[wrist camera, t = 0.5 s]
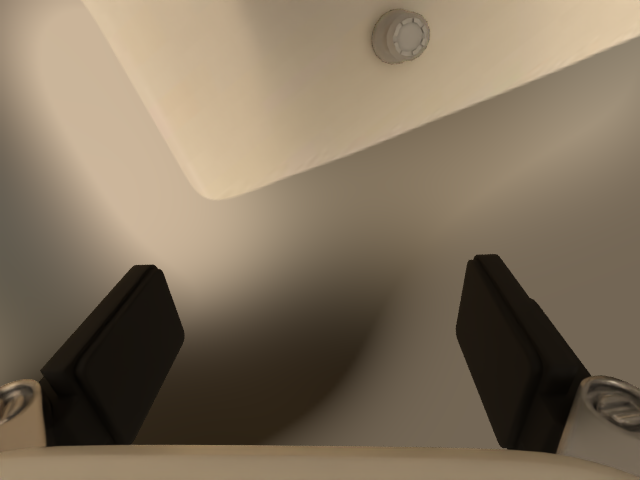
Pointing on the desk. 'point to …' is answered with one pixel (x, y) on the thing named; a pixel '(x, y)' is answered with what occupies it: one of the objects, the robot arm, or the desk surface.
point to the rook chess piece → (400, 36)
